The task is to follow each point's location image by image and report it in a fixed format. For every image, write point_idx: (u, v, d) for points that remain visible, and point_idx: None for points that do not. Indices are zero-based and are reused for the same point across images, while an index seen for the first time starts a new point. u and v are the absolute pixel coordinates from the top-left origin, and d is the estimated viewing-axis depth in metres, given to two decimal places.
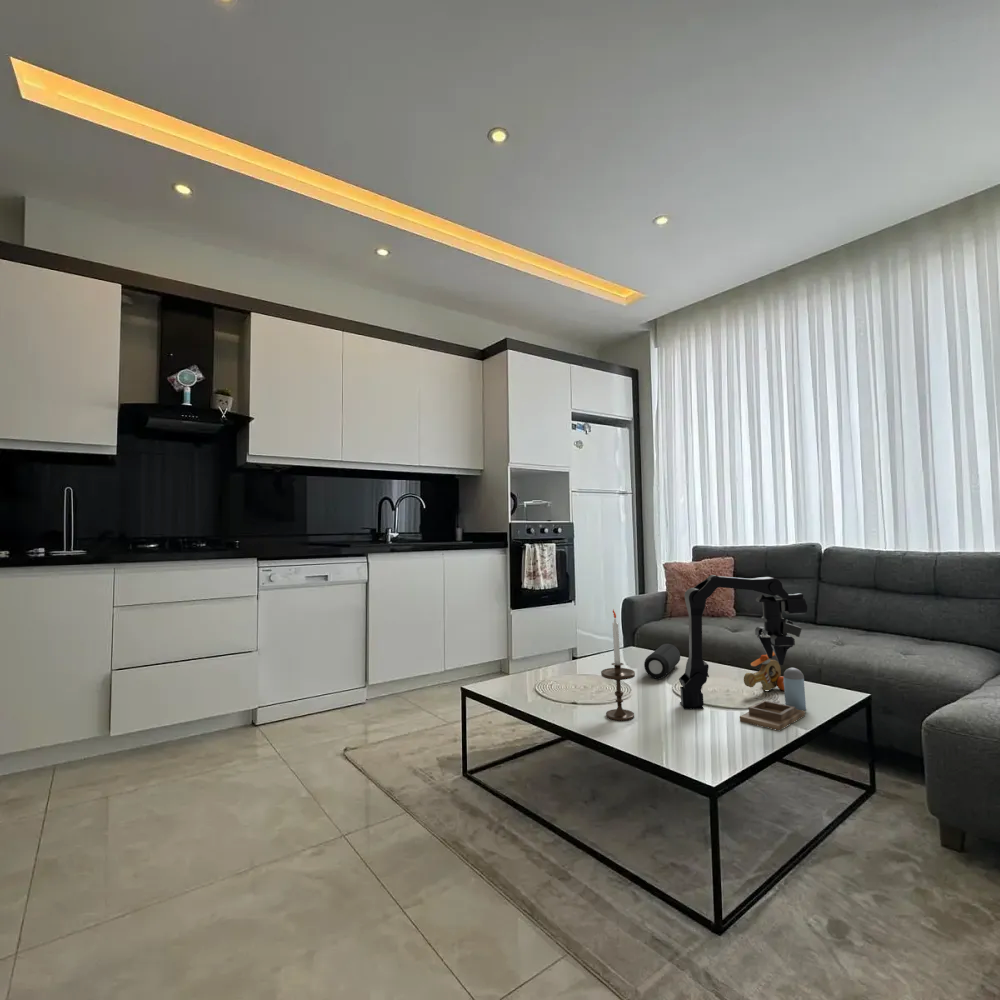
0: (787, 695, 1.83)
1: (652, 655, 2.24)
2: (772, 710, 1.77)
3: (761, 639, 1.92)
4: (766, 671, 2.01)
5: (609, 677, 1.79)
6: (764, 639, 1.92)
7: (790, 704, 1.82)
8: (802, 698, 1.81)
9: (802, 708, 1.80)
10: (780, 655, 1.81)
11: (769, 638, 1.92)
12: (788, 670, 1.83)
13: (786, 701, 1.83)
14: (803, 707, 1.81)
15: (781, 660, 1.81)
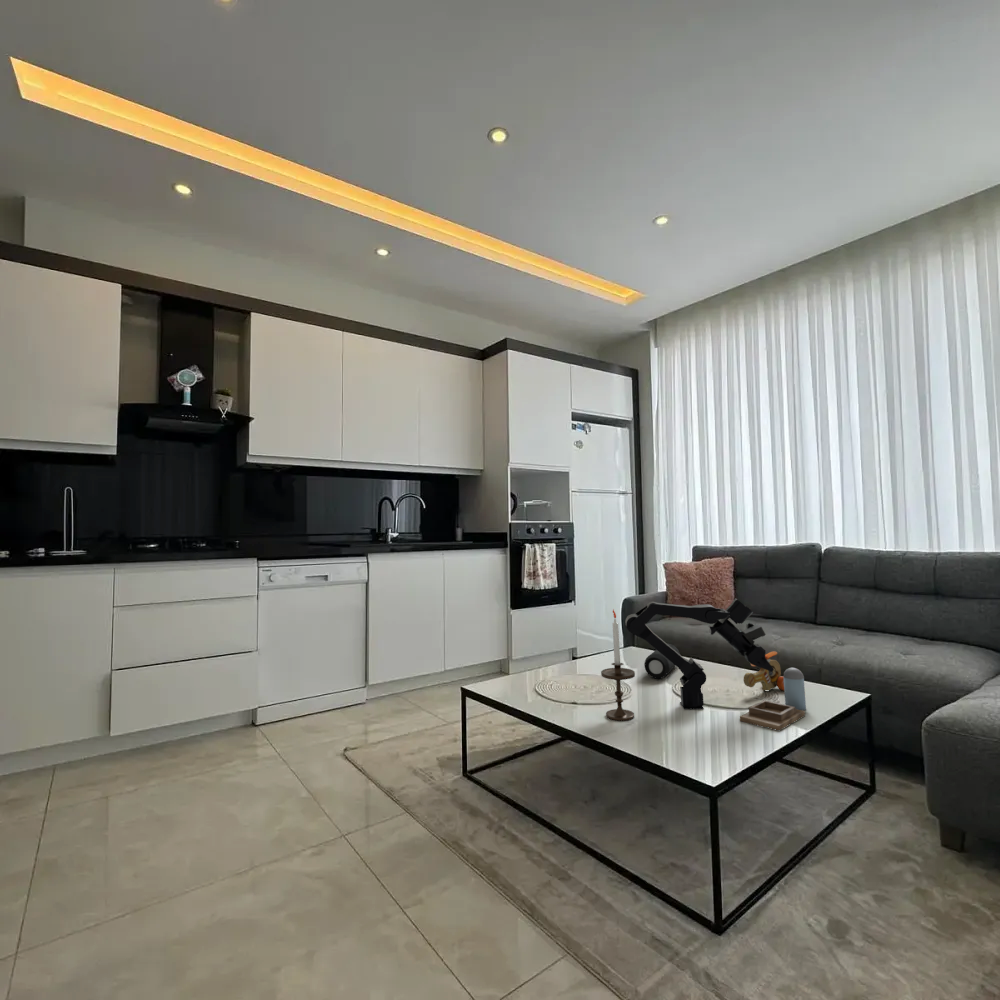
0: (787, 695, 1.83)
1: (652, 655, 2.24)
2: (772, 710, 1.77)
3: (743, 655, 1.91)
4: (766, 671, 2.01)
5: (609, 677, 1.79)
6: (745, 652, 1.91)
7: (790, 704, 1.82)
8: (802, 698, 1.81)
9: (802, 708, 1.80)
10: (764, 665, 1.80)
11: None
12: (788, 670, 1.83)
13: (786, 701, 1.83)
14: (803, 707, 1.81)
15: (769, 667, 1.80)
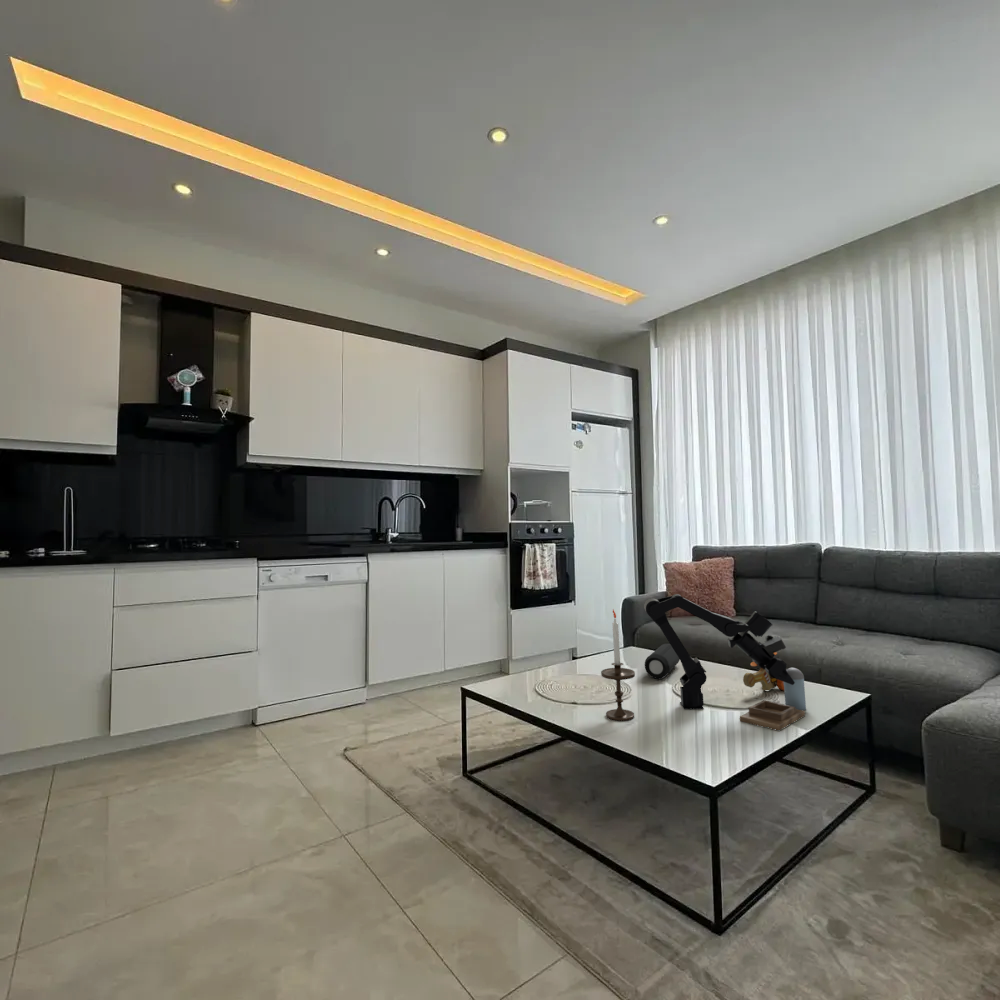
0: (787, 695, 1.83)
1: (652, 655, 2.24)
2: (772, 710, 1.77)
3: (763, 667, 1.90)
4: None
5: (609, 677, 1.79)
6: None
7: (790, 704, 1.82)
8: (802, 698, 1.81)
9: (802, 708, 1.80)
10: (785, 678, 1.79)
11: None
12: (788, 670, 1.83)
13: (786, 701, 1.83)
14: (803, 707, 1.81)
15: (790, 680, 1.79)
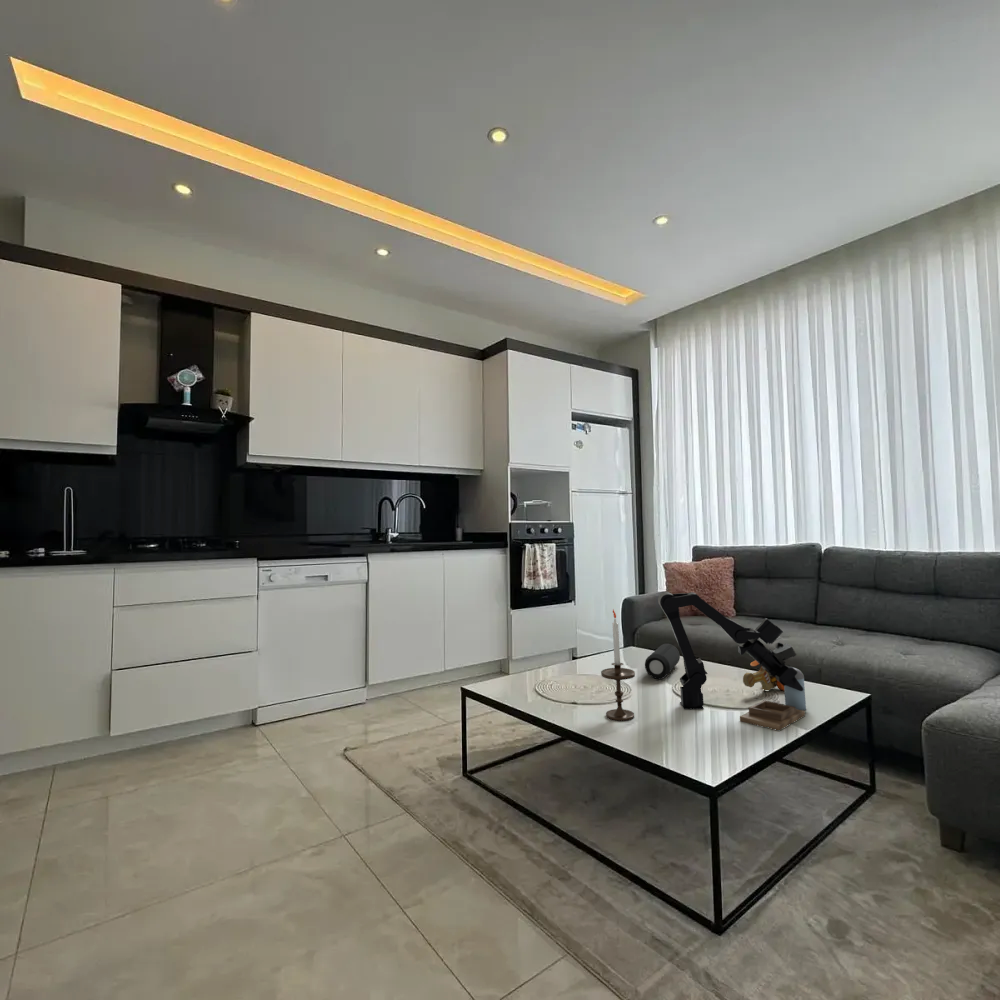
0: (787, 695, 1.83)
1: (653, 655, 2.23)
2: (772, 710, 1.77)
3: (774, 675, 1.88)
4: None
5: (609, 677, 1.79)
6: (776, 673, 1.88)
7: (790, 704, 1.82)
8: (802, 698, 1.81)
9: (802, 708, 1.80)
10: (794, 684, 1.80)
11: None
12: None
13: (786, 701, 1.83)
14: (803, 707, 1.81)
15: (799, 687, 1.80)
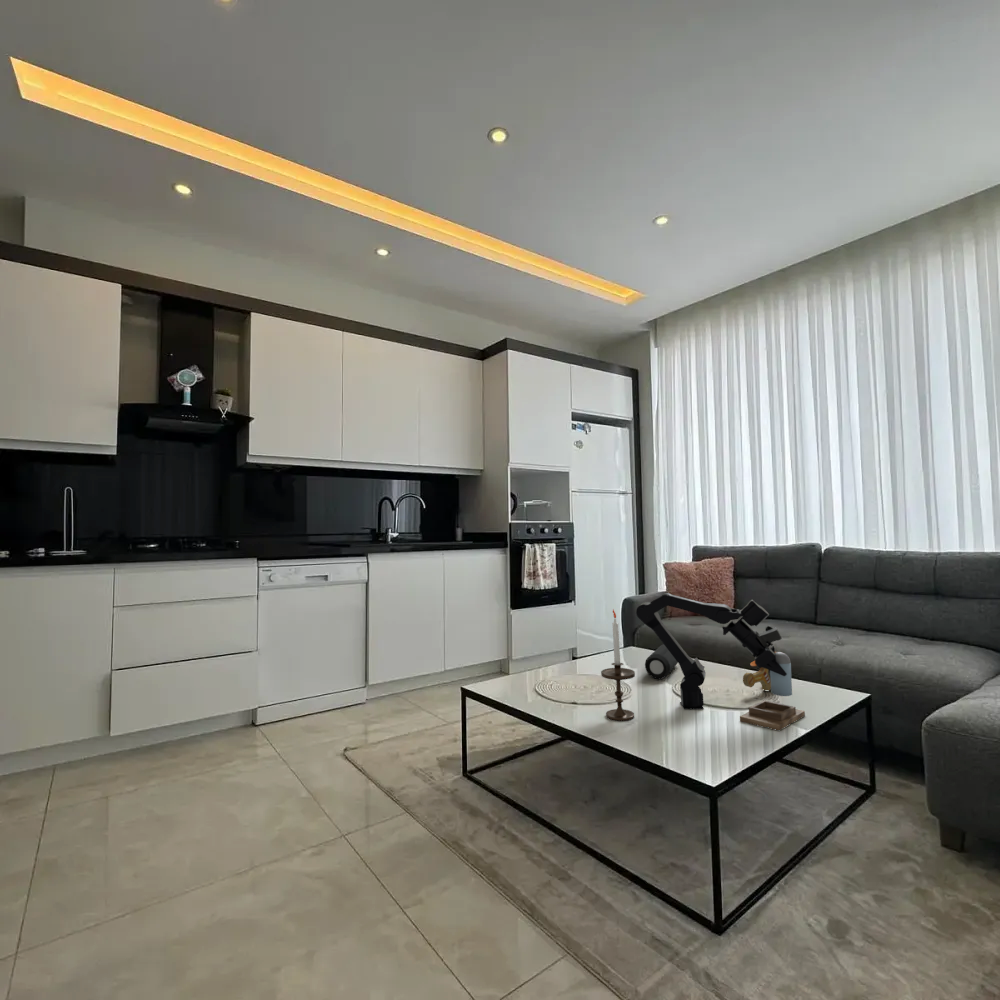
0: (771, 680, 1.78)
1: (653, 655, 2.23)
2: (772, 710, 1.77)
3: None
4: (765, 671, 2.01)
5: (609, 677, 1.79)
6: None
7: (773, 688, 1.77)
8: (786, 684, 1.75)
9: (785, 693, 1.75)
10: (776, 668, 1.74)
11: None
12: None
13: (771, 685, 1.78)
14: (787, 693, 1.75)
15: (781, 672, 1.74)
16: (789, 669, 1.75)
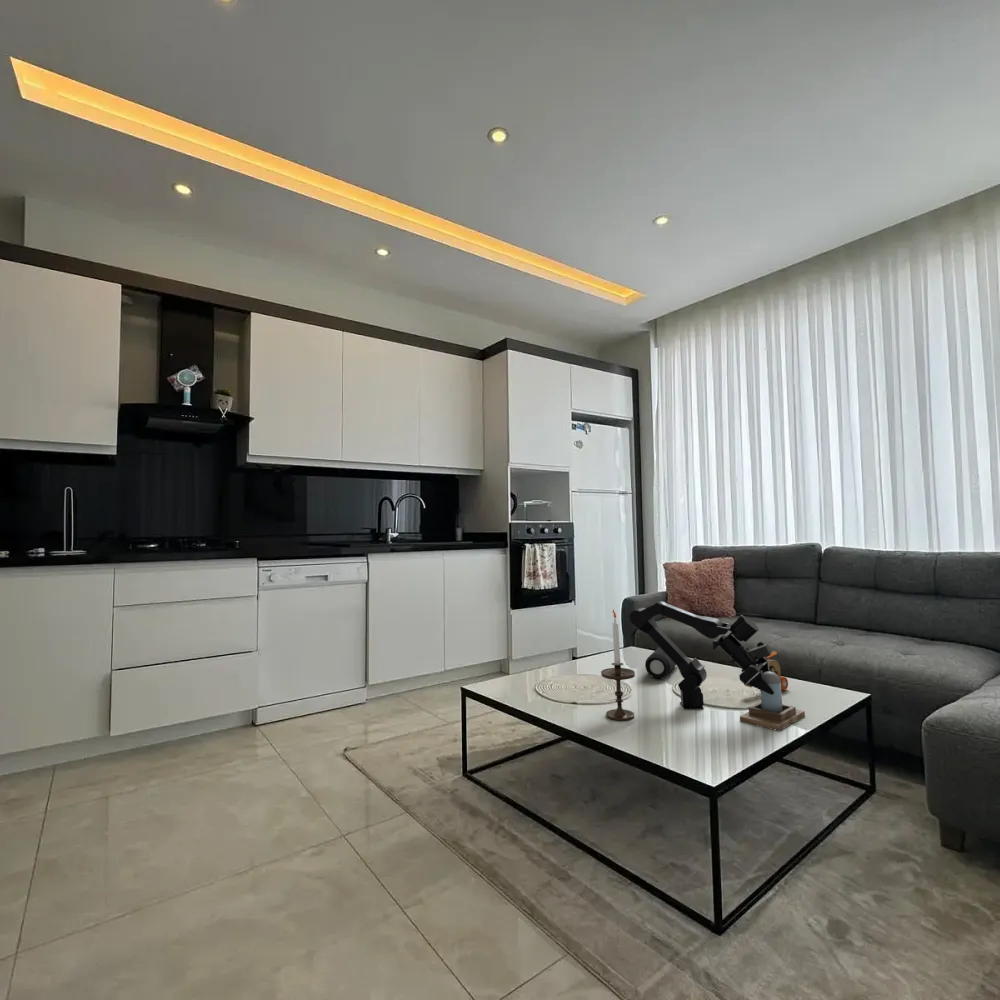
0: (761, 699, 1.75)
1: (653, 655, 2.23)
2: None
3: None
4: None
5: (609, 677, 1.79)
6: (758, 672, 1.82)
7: (763, 708, 1.74)
8: (775, 704, 1.72)
9: None
10: (762, 686, 1.71)
11: (762, 668, 1.81)
12: (763, 673, 1.76)
13: (761, 705, 1.76)
14: None
15: (768, 690, 1.70)
16: (778, 689, 1.72)
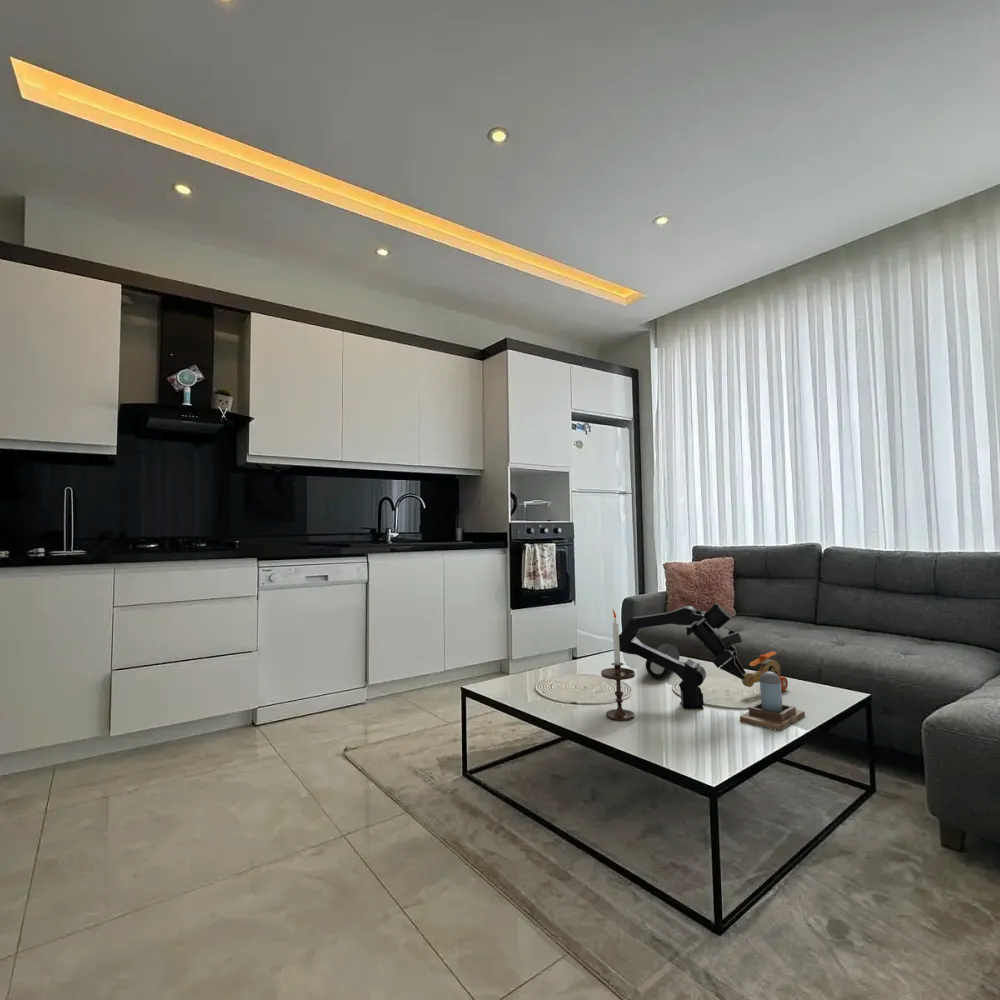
0: (761, 699, 1.75)
1: None
2: None
3: None
4: (765, 671, 2.01)
5: (609, 677, 1.79)
6: None
7: (763, 708, 1.74)
8: (775, 704, 1.72)
9: None
10: (734, 671, 1.77)
11: None
12: (763, 673, 1.76)
13: (761, 705, 1.76)
14: None
15: (739, 675, 1.76)
16: (778, 689, 1.72)
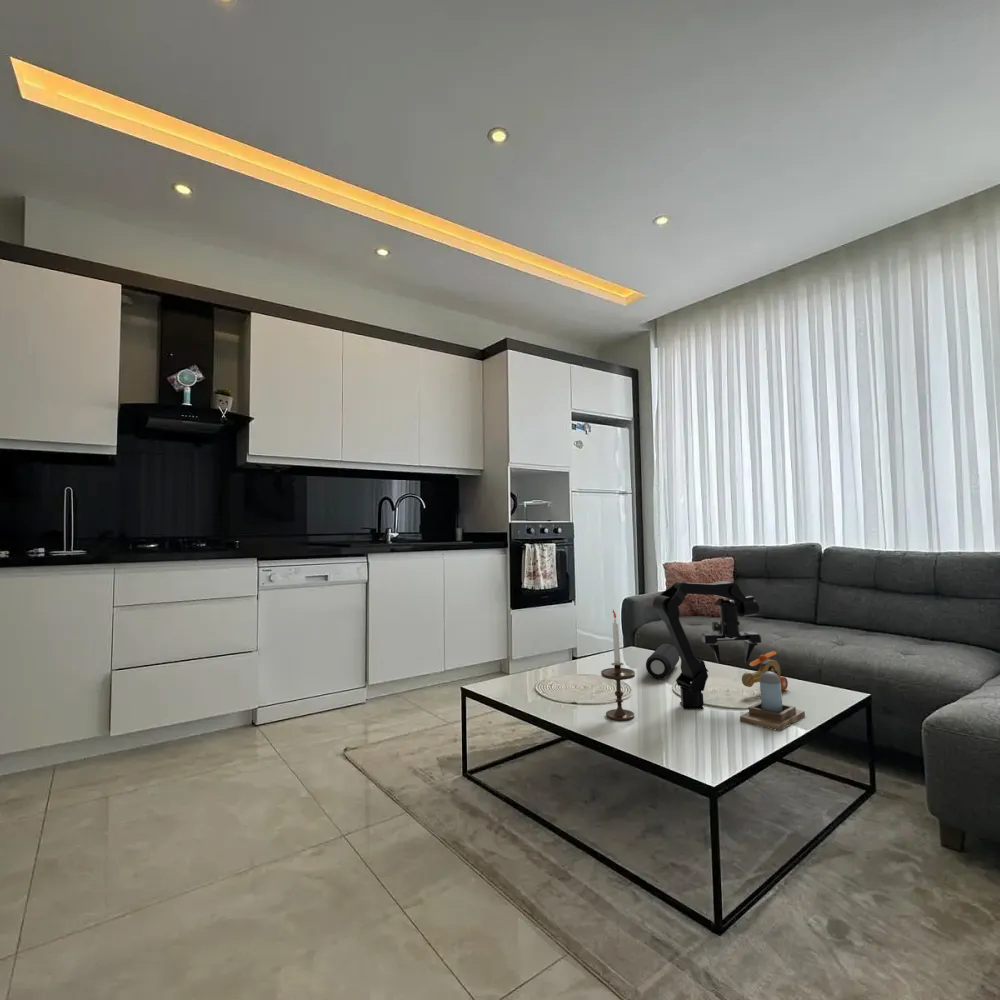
0: (761, 699, 1.75)
1: (654, 655, 2.23)
2: None
3: None
4: (765, 671, 2.01)
5: (609, 677, 1.79)
6: None
7: (763, 708, 1.74)
8: (775, 704, 1.72)
9: None
10: None
11: None
12: (763, 673, 1.76)
13: (761, 705, 1.76)
14: None
15: None
16: (778, 689, 1.72)
